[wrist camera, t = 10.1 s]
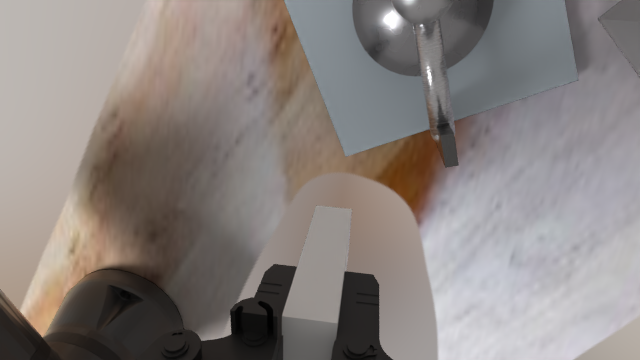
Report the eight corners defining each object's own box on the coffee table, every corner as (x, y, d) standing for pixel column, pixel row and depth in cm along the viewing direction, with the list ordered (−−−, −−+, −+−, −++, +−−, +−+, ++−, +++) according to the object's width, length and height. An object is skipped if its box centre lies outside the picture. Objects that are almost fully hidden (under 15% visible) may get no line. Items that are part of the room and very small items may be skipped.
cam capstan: (325, -118, 29) (308, -153, 22) (471, -170, 27) (500, -227, 20) (381, 146, 36) (381, 179, 30) (499, 123, 34) (527, 152, 27)
